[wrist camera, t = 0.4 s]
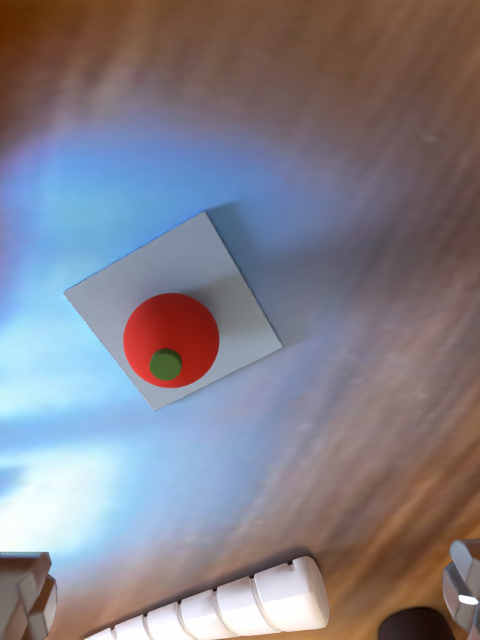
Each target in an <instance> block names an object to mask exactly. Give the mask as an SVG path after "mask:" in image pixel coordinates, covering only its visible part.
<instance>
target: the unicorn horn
mask: <svg viewBox="0 0 480 640" xmlns="http://www.w3.org/2000/svg"><path fill="white" fill-rule="evenodd" d="M328 620H329V604H328V598H327V593H326V589H325V586H324V582H323V578H322V576H321V573H320V570H319V568H318V567H317V565H316V563H315V561H314V560H313V559H312V558H310V557H308V556H304V557H300V558H297V559H295V560H293V564H291V565H288V564H287V563H284V564H281V565H278V566H275V567H273V568H270V569H267V570H264V571H261V572H258V573H256V574H254V578H251V579H250V578H249V576H247V577H244V578H241V579H239V580H236V581H233V582H230V583H227V584H225V585H222V586H219V587H218V588H217V591H214V592H213V590H212V589H210V590H208V591H205V592H202V593H199V594H196V595H194V596H191V597H188V598H185V599H182V602H181V604H178V603H177V602H174V603H172V604H169V605H166V606H163V607H161V608H158V609H155V610H153V611H150V612H148V614H147V616H146V617H144V616H143V614H142V615H140V616H137V617H135V618H132V619H130V620H127V621H125V622H122V623H120V624H117V625H115V627H114V629H113V630H111V628H108V629H105V630H103V631H101V632H98V633H96V634H94V635H92V636H90V637H88V638H86V639H84V640H212V639H222V638H231V637H239V636H241V635H243V636H250V635H260V634H270V633H279V632H281V631H287V632H289V631H299V630H310V629H319V628H323V627H325V626H326V625H327V623H328Z"/></svg>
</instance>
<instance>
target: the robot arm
mask: <svg viewBox="0 0 480 640" xmlns="http://www.w3.org/2000/svg"><path fill="white" fill-rule="evenodd" d="M449 554H450V556H451V558H452V559H453V561H452V562H451V563H450V564H449V565H447V566H446V567H445V568H444V572H443V577H442V586H443V595H444V598H445V601H446V604H447V607H448V609H449V611H450V613H451V616H452V618H453V620H454V621H455V622H456V623H457V624H458V625H460V626H461V627H462V628H463V629H464V630H465V631H466V632H468V635H467V640H480V539H460V540H455V541H454V542H453V543H452V544H451V547H450V550H449ZM51 564H52V563H51V559H50V556H49V553H48V552H0V640H44V639H45V638H46V637H47V636H48V634H49V631H50V628H51V625H52V622H53V619H54V615H55V610H56V604H57V585H56V580H55V579H54V578H53V577H52V576H50V575H49V574H48V572H49V569H50V567H51Z"/></svg>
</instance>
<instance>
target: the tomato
mask: <svg viewBox="0 0 480 640" xmlns="http://www.w3.org/2000/svg"><path fill="white" fill-rule="evenodd" d="M219 343H220V338H219V330H218V326H217V324H216V321H215V319H214V317H213V315H212V314H211V312H210V311H209V310H208V309H207V308H206V307H205V306H204V305H203V304H202V303H201V302H199V301H198V300H196V299H194V298H192V297H190V296H187V295H184V294H179V293H165V294H159V295H156V296H153V297H151V298H149V299H147V300H146V301H144V302H143V303H141V304H140V305H139V306H138V307H137V308H136V309H135V310H134V311H133V313H132V314H131V316H130V317H129V319H128V321H127V323H126V326H125V330H124V336H123V347H124V352H125V355H126V358H127V361H128V363H129V365H130V366H131V368H132V369H133V370H134V372H135V373H136V374H137V375H138V376H139V377H141V378H142V379H143V380H145V381H146V382H148V383H150V384H153V385H155V386H158V387H163V388H179V387H184V386H187V385H190V384H192V383H194V382H196V381H197V380H199V379H200V378H202V377H203V376H204V375H205V374H206V373H207V372H208V371H209V369H210V368H211V367H212V365H213V363H214V361H215V359H216V357H217V354H218V350H219Z"/></svg>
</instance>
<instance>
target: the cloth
mask: <svg viewBox="0 0 480 640" xmlns="http://www.w3.org/2000/svg"><path fill="white" fill-rule="evenodd" d="M165 293H179V294H184V295H187V296H190V297H192V298H194V299H196V300H198V301H199V302H201V303H202V304H203V305H204V306H205V307H206V308H207V309H208V310H209V311H210V312H211V314H212V315H213V317H214V319H215V321H216V324H217V326H218V330H219V338H220V343H219V350H218V354H217V357H216V359H215V361H214V363H213V365H212V367H211V368H210V369H209V371H208V372H207V373H206V374H205V375H204V376H203V377H202V378H200V379H199V380H197V381H196V382H194V383H192V384H190V385H187V386H184V387H179V388H163V387H158V386H155V385H153V384H150V383H148V382H146V381H145V380H143V379H142V378H141V377H139V376H138V375H137V374H136V373H135V372H134V370H133V369H132V368H131V366H130V365H129V363H128V361H127V358H126V355H125V352H124V347H123V336H124V330H125V326H126V323H127V321H128V319H129V317H130V316H131V314H132V313H133V311H134V310H135V309H136V308H137V307H138V306H139V305H140V304H141V303H143V302H144V301H146V300H147V299H149V298H151V297H153V296H156V295H159V294H165ZM63 294H64V295H65V297H66V298H67V299H68V300H69V302H70V303H71V304H72V306H73V307H74V308H75V309H76V311H77V312H78V313H79V315H80V316H81V317H82V318H83V320H84V321H85V322H86V324H87V325H88V326H89V328H90V329H91V330H92V331H93V333H94V334H95V335H96V337H97V338H98V339H99V340H100V342H101V343H102V344H103V346H104V347H105V348H106V349H107V351H108V352H109V353H110V355H111V356H112V357H113V358H114V360H115V361H116V362H117V364H118V365H119V366H120V367H121V369H122V370H123V371H124V373H125V374H126V375H127V377H128V378H129V379H130V380H131V382H132V383H133V384H134V386H135V387H136V388H137V389H138V391H139V392H140V393H141V395H142V396H143V397H144V398H145V400H146V401H147V402H148V404H149V405H150V406H151V407H152V409H153V410H154V411H156V410H158V409H160V408H162V407H164V406H166V405H168V404H170V403H172V402H174V401H176V400H178V399H180V398H182V397H184V396H186V395H188V394H190V393H192V392H194V391H196V390H198V389H200V388H202V387H204V386H206V385H208V384H210V383H212V382H214V381H216V380H218V379H220V378H222V377H224V376H226V375H228V374H230V373H232V372H234V371H236V370H239V369H241V368H243V367H245V366H247V365H249V364H251V363H253V362H255V361H257V360H259V359H261V358H263V357H265V356H267V355H269V354H271V353H273V352H275V351H277V350H279V349H281V348H283V345H282V343H281V341H280V340H279V338H278V336H277V334H276V333H275V331H274V329H273V327H272V326H271V324H270V322H269V320H268V319H267V317H266V315H265V314H264V312H263V310H262V308H261V307H260V305H259V303H258V301H257V300H256V298H255V296H254V294H253V293H252V291H251V289H250V287H249V286H248V284H247V282H246V280H245V279H244V277H243V275H242V274H241V272H240V270H239V268H238V267H237V265H236V263H235V261H234V260H233V258H232V256H231V254H230V253H229V251H228V249H227V247H226V246H225V244H224V242H223V240H222V239H221V237H220V235H219V233H218V232H217V230H216V228H215V227H214V225H213V223H212V221H211V220H210V218H209V216H208V214H207V213H206V211H205V210H204V211H202V212H201V213H199V214H197V215H196V216H194V217H192V218H190V219H189V220H187V221H185V222H183V223H182V224H180V225H178V226H177V227H175V228H173V229H171V230H170V231H168V232H166V233H164V234H163V235H161V236H159V237H158V238H156V239H154V240H152V241H151V242H149V243H147V244H145V245H144V246H142V247H140V248H139V249H137V250H135V251H133V252H132V253H130V254H128V255H126V256H125V257H123V258H121V259H120V260H118V261H116V262H114V263H113V264H111V265H109V266H107V267H106V268H104V269H102V270H100V271H99V272H97V273H95V274H94V275H92V276H90V277H88V278H87V279H85V280H83V281H81V282H80V283H78V284H76V285H75V286H73V287H71V288H69V289H68V290H66V291H65V292H64V293H63Z"/></svg>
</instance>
